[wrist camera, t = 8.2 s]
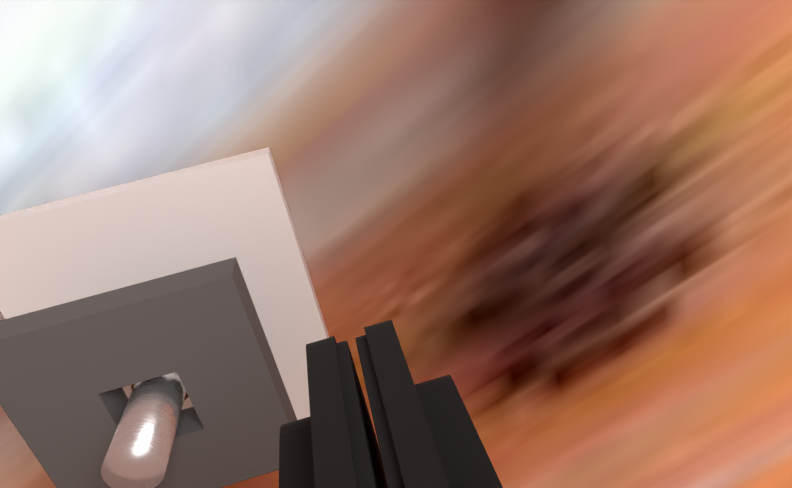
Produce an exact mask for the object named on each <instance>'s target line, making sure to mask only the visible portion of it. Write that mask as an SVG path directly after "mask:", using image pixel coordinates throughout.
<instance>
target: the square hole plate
mask: <svg viewBox="0 0 792 488" xmlns="http://www.w3.org/2000/svg"><path fill="white" fill-rule="evenodd" d="M174 372H177V374H178V376H179V378H180V380H181V382H182V384H183V386H184V388H185V390H186V392H187V394H188V396H189V398H190V401H191V403H192V405H193V407H190V408H187V409H183V410H181V414H180V418H179V422H178V426H177V430H176V433H175V437H174V441H173V445H172V449H171V453H170V456H169V460H168V464H167V468H166V472H165V475H164V478H163V480H162V481H161V482H160V484H159V485H157V486H156V487H155V488H221V487H224V486H227V485H230V484H234V483H237V482H240V481H243V480H247V479H250V478H253V477H256V476H260V475H263V474H266V473H269V472H273V471H276V470H279V435H280V427H281V425H283V424H287V423H290V422H293V421H297V417H296V415H295V412H294V410H293V407H292V404H291V402H290V399H289V396H288V394H287V391H286V388H285V386H284V383H283V380H282V378H281V375H280V373H279V370H278V367H277V365H276V362H275V359H274V357H273V354H272V351H271V349H270V346H269V343H268V341H267V338H266V336H265V333H264V330H263V328H262V325H261V322H260V320H259V317H258V314H257V312H256V309H255V307H254V304H253V301H252V299H251V296H250V293H249V291H248V288H247V285H246V283H245V280H244V277H243V275H242V272H241V270H240V267H239V264H238V262H237V259H236V257H234V258H230V259H227V260H223V261H219V262H216V263H212V264H208V265H204V266H201V267H197V268H193V269H190V270H186V271H182V272H178V273H175V274H171V275H167V276H164V277H160V278H156V279H153V280H149V281H145V282H141V283H138V284H134V285H130V286H127V287H123V288H119V289H115V290H112V291H108V292H104V293H101V294H97V295H93V296H90V297H86V298H82V299H78V300H75V301H71V302H67V303H64V304H60V305H56V306H52V307H49V308H45V309H41V310H38V311H34V312H30V313H27V314H23V315H19V316H15V317H12V318H8V319H4V320H1V321H0V405H1V407H2V408H3V409H4V411H5V412H6V414H7V415H8V417H9V418H10V420H11V421H12V423H13V424H14V426H15V427H16V428H17V430H18V431H19V433H20V434H21V436H22V437H23V439H24V440H25V442H26V443H27V445H28V446H29V448H30V449H31V450H32V452H33V453H34V455H35V456H36V458H37V459H38V461H39V462H40V464H41V465H42V467H43V468H44V470H45V471H46V472H47V474H48V475H49V477H50V478H51V480H52V481H53V483H54V484H55V486H56V487H57V488H111V487H109V486H108V485H107V484H106V483H105V482H104V480H103V478H102V476H101V467H102V464H103V461H104V459H105V457H106V454H107V452H108V449H109V447H110V444H111V442H112V439H113V437H114V434H115V432H116V429H117V427H118V424H119V422H120V420H121V417H122V415H123V412H124V410H125V407H126V405H127V402H128V400H129V399H128V397H127V396H126V394H125V392H124V390H123V388H122V387H125V386H128V385H132V384H135V383H139V382H142V381H146V380H149V379H153V378H156V377H160V376H163V375H167V374H170V373H174Z"/></svg>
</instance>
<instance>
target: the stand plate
mask: <svg viewBox="0 0 792 488" xmlns="http://www.w3.org/2000/svg"><path fill="white" fill-rule="evenodd" d="M234 257H236V259H237V262H238V264H239V267H240V270H241V272H242V275H243V277H244V280H245V283H246V285H247V288H248V291H249V293H250V296H251V299H252V301H253V304H254V307H255V309H256V312H257V314H258V317H259V320H260V322H261V325H262V328H263V330H264V333H265V336H266V338H267V341H268V343H269V346H270V349H271V351H272V354H273V357H274V359H275V362H276V365H277V367H278V370H279V373H280V375H281V378H282V380H283V383H284V386H285V388H286V391H287V394H288V396H289V399H290V402H291V404H292V407H293V410H294V412H295V415H296V417H297V420H300V419H303V418H307V417H310V405H309V389H308V374H307V359H306V344H309V343H312V342H316V341H319V340H323V339H326V338H330V337H329V334H328V331H327V328H326V325H325V322H324V318H323V315H322V312H321V309H320V306H319V303H318V300H317V296H316V293H315V290H314V287H313V284H312V281H311V277H310V274H309V271H308V268H307V265H306V262H305V259H304V255H303V252H302V249H301V246H300V243H299V240H298V236H297V233H296V230H295V227H294V224H293V221H292V218H291V214H290V211H289V208H288V205H287V202H286V199H285V195H284V192H283V189H282V186H281V183H280V180H279V177H278V173H277V170H276V167H275V164H274V161H273V158H272V154H271V151H270V148H269V147H267V148H263V149H259V150H255V151H251V152H247V153H243V154H239V155H235V156H231V157H227V158H223V159H220V160H216V161H212V162H208V163H204V164H200V165H196V166H192V167H188V168H184V169H180V170H176V171H172V172H168V173H164V174H160V175H156V176H152V177H148V178H144V179H140V180H136V181H133V182H129V183H125V184H121V185H117V186H113V187H109V188H105V189H101V190H97V191H93V192H89V193H85V194H81V195H77V196H73V197H69V198H65V199H61V200H57V201H53V202H49V203H45V204H42V205H38V206H34V207H30V208H26V209H22V210H18V211H14V212H10V213H6V214H2V215H0V311H1V313H2V314H3V316H4V318H5V319H8V318H12V317H15V316H19V315H23V314H27V313H30V312H34V311H38V310H41V309H45V308H49V307H52V306H56V305H60V304H64V303H67V302H71V301H75V300H78V299H82V298H86V297H90V296H93V295H97V294H101V293H104V292H108V291H112V290H115V289H119V288H123V287H127V286H130V285H134V284H138V283H141V282H145V281H149V280H153V279H156V278H160V277H164V276H167V275H171V274H175V273H178V272H182V271H186V270H190V269H193V268H197V267H201V266H204V265H208V264H212V263H216V262H219V261H223V260H227V259H230V258H234ZM122 388H123V390H124V392H125V394H126V396H127V397H128V399H129V397H130V395H131V392H132V389H131V385H128V386H125V387H122ZM190 407H193V405H192V403H191V401H190V398H189V396H188V398H187V399H186V400H185V401H184V403H183V407H182V410H183V409H187V408H190Z"/></svg>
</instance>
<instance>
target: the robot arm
mask: <svg viewBox="0 0 792 488" xmlns="http://www.w3.org/2000/svg"><path fill="white" fill-rule="evenodd" d="M364 329H365V333H366V335H364V336H361V337H357V338H355V339H356V344H357V348H358V353H359V357H360V362H361V366H362V371H363V375H364V380H365V384H366V389H367V393H368V398H369V403H370V407H371V412H372V416H373V421H374V425H375V430H376V434H377V439H378V442H377V439H376V435H375V432H374V429H373V425H372V422H371V419H370V415H369V412H368V409H367V405H366V402H365V399H364V395H363V392H362V389H361V385H360V382H359V379H358V376H357V372H356V369H355V366H354V362H353V359H352V356H351V352H350V349H349V346H348V343H347V341H343V342H340V343H336V340H335V337H334V336H333V337H330V338H326V339H323V340H319V341H316V342H312V343H309V344H306V359H307V374H308V389H309V405H310V417H307V418H303V419H300V420H297V421H293V422H290V423H287V424H283V425H281V427H280V435H279V488H503V487H502V485H501V483H500V481H499V479H498V476H497V474H496V472H495V470H494V468H493V466H492V463H491V461H490V459H489V457H488V455H487V453H486V450H485V448H484V446H483V444H482V442H481V440H480V438H479V435H478V433H477V431H476V429H475V427H474V425H473V422H472V420H471V418H470V416H469V414H468V412H467V409H466V407H465V405H464V403H463V401H462V399H461V397H460V394H459V392H458V390H457V388H456V386H455V384H454V381H453V380H452V378H451V376H450V375H446V376H443V377H440V378H436V379H433V380H430V381H426V382H423V383H420V384H416V385H414V383H413V380H412V377H411V374H410V371H409V369H408V366H407V363H406V360H405V357H404V354H403V351H402V349H401V346H400V343H399V340H398V337H397V334H396V332H395V329H394V326H393V323H392V321H391V320H389V321H385V322H382V323H378V324H375V325H371V326H368V327H364ZM378 443H379V445H378ZM379 448H380V449H379ZM380 452H381V453H380Z"/></svg>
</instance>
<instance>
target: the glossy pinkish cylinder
mask: <svg viewBox="0 0 792 488" xmlns="http://www.w3.org/2000/svg"><path fill="white" fill-rule="evenodd" d="M131 389H132V392H131V395H130V397H129V400H128V402H127V405H126V407H125V410H124V412H123V415H122V417H121V420H120V422H119V424H118V427H117V429H116V432H115V434H114V437H113V439H112V442H111V444H110V447H109V449H108V452H107V454H106V457H105V459H104V461H103V464H102V467H101V476H102V478H103V480H104V482H105V483H106V484H107V485H108V486H109V487H111V488H155V487H156V486H157V485H159V484H160V482H161V481H162V480H163V478H164V475H165V472H166V468H167V464H168V460H169V456H170V453H171V449H172V445H173V441H174V437H175V433H176V430H177V426H178V422H179V418H180V414H181V410H182V407H183V403H184V401H185V400H186V399H187V398H188V394H187V392H186V390H185V388H184V386H183V384H182V382H181V380H180V378H179V376H178V374H177V372H174V373H170V374H167V375H163V376H160V377H156V378H153V379H149V380H146V381H142V382H139V383H135V384H132V385H131Z"/></svg>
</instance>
